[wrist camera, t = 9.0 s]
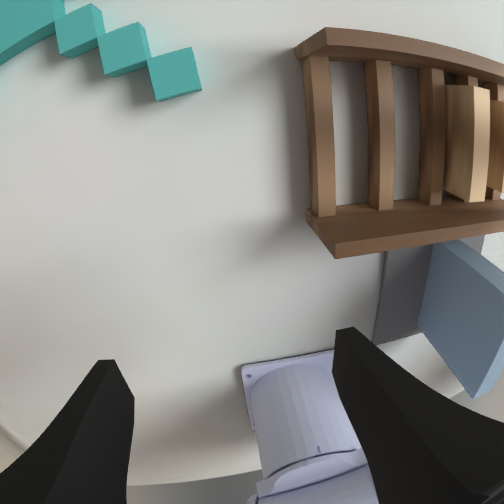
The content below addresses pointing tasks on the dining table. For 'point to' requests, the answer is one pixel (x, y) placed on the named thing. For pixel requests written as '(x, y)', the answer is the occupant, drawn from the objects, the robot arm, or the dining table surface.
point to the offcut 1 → (466, 141)
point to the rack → (391, 144)
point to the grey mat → (406, 290)
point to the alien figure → (95, 43)
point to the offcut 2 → (496, 147)
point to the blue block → (465, 314)
